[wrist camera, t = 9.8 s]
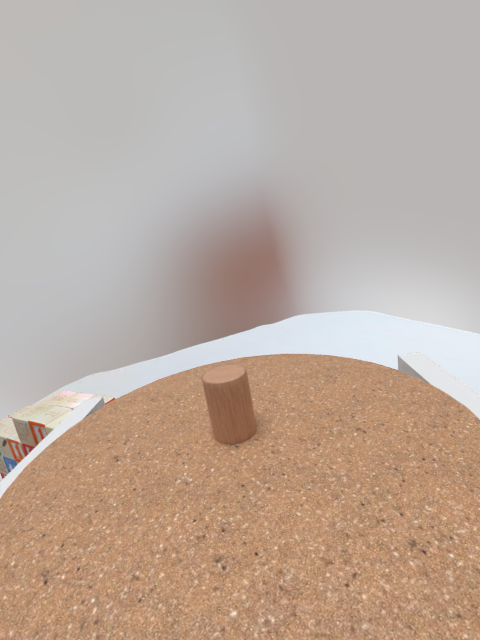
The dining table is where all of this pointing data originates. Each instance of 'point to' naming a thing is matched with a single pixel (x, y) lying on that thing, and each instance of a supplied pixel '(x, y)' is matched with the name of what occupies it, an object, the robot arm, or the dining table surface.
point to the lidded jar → (252, 511)
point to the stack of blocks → (35, 426)
